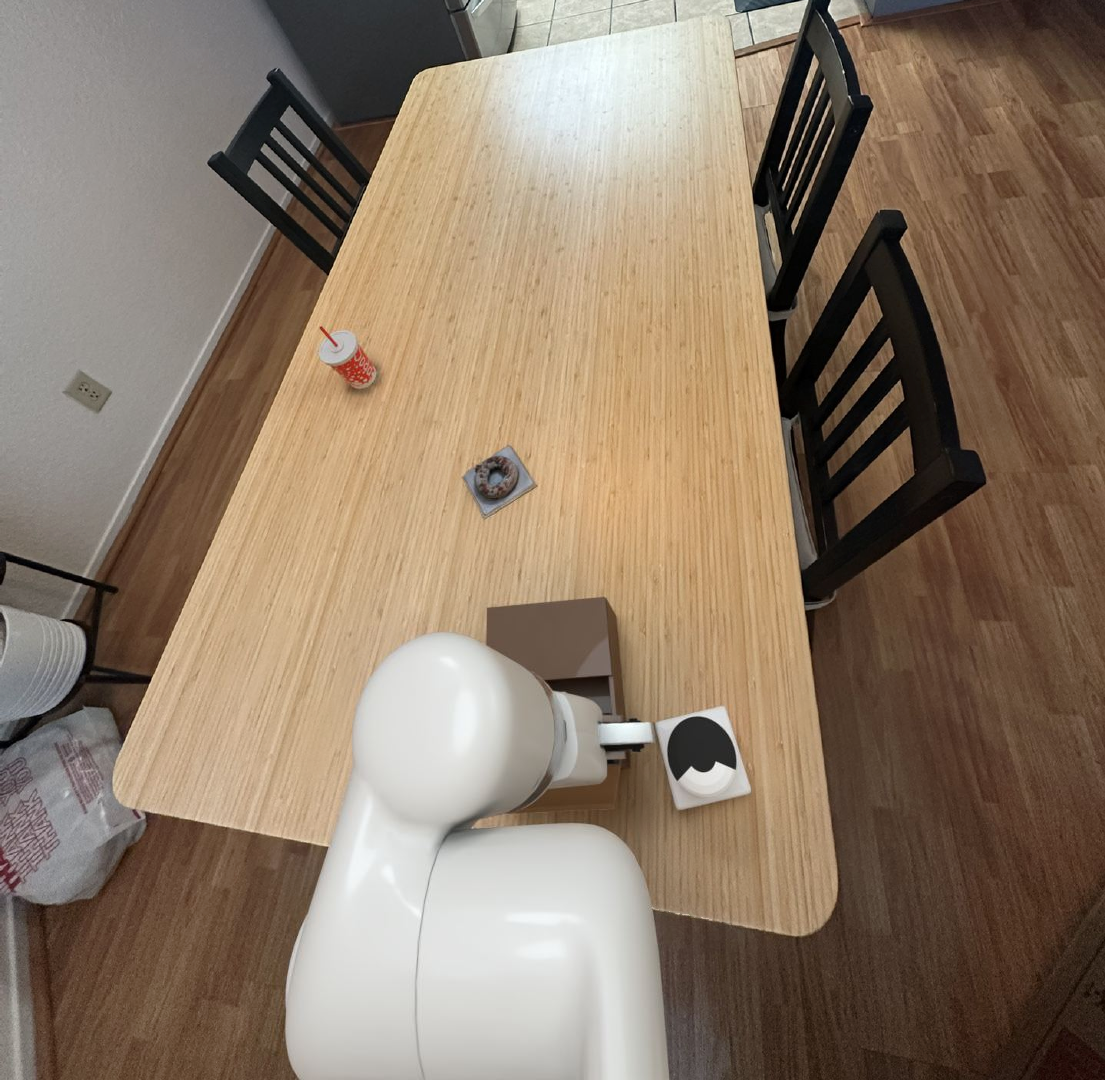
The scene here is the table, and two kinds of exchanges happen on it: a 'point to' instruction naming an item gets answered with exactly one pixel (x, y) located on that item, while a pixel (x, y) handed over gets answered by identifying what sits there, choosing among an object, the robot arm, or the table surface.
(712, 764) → the medicine bottle
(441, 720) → the robot arm
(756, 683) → the table surface
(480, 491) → the donut
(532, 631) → the carton
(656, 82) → the table surface
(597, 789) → the front flap
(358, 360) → the beverage cup
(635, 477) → the table surface
